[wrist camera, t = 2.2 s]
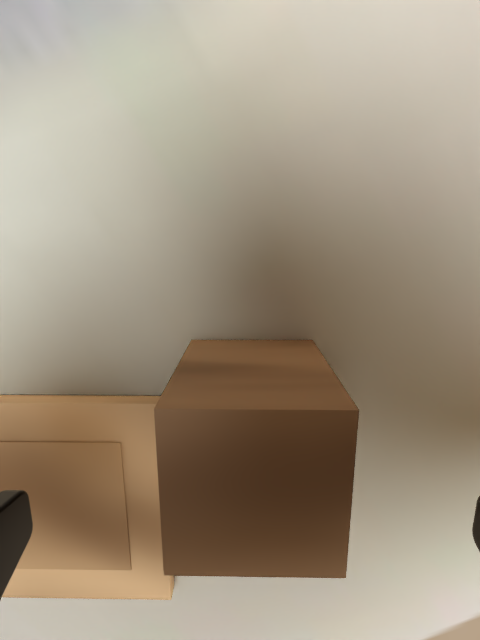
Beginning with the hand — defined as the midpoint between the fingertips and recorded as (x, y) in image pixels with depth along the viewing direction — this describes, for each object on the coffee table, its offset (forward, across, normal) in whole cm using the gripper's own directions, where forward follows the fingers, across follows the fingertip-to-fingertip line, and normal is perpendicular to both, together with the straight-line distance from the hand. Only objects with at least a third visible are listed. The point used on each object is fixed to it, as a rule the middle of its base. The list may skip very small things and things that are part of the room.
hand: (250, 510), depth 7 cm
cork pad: (+5, +7, +4) cm, 9 cm away
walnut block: (+5, 0, 0) cm, 5 cm away
